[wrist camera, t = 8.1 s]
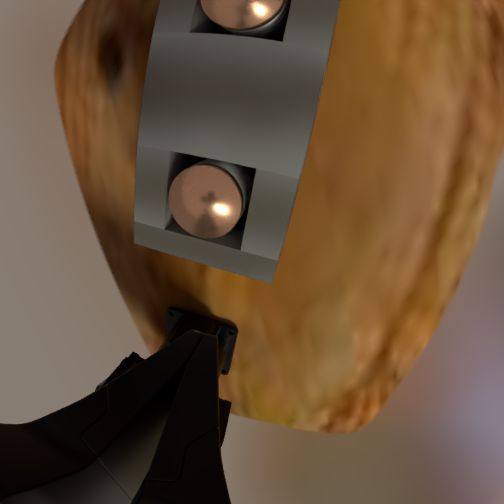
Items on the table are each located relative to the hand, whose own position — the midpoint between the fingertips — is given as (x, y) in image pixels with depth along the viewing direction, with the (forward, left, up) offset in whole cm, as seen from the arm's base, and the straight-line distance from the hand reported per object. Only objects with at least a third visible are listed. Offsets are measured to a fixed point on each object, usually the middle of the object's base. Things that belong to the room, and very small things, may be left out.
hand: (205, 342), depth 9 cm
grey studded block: (+7, +3, -13) cm, 15 cm away
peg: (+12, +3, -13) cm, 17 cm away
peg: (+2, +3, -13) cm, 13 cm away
